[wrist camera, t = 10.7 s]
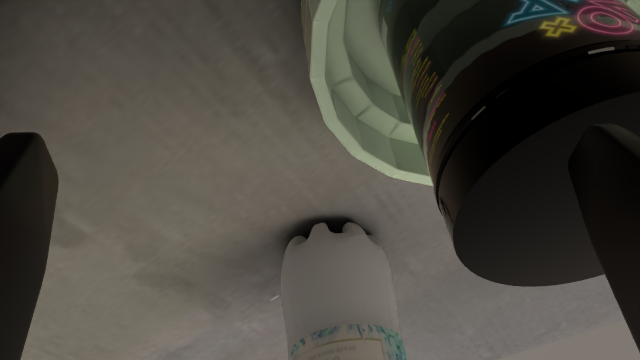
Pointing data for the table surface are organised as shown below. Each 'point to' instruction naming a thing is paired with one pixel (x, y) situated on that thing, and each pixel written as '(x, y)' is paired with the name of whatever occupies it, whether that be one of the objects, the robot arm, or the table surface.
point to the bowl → (362, 86)
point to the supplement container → (513, 120)
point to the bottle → (339, 297)
